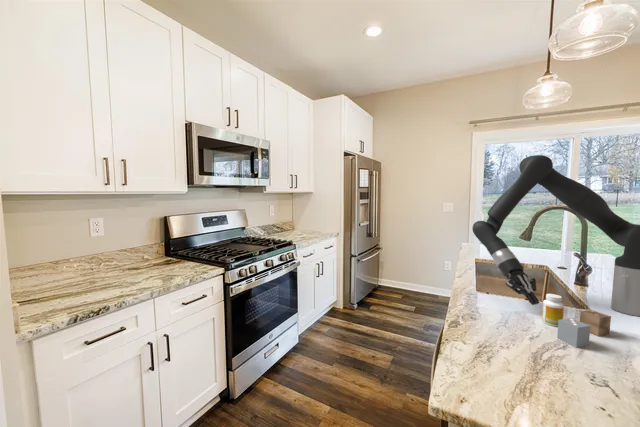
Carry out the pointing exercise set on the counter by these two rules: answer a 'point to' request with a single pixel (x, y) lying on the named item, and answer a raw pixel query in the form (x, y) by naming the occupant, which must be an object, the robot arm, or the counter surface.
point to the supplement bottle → (552, 309)
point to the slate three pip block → (573, 332)
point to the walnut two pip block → (596, 322)
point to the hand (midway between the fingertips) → (536, 303)
